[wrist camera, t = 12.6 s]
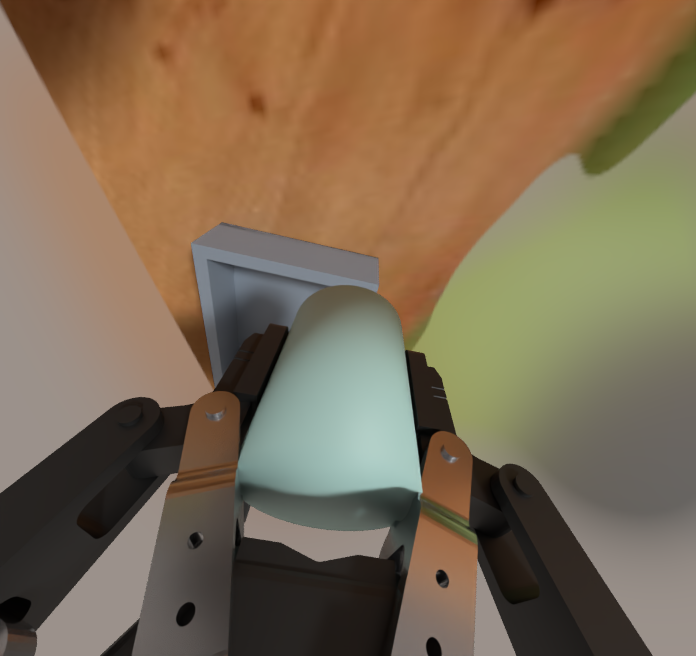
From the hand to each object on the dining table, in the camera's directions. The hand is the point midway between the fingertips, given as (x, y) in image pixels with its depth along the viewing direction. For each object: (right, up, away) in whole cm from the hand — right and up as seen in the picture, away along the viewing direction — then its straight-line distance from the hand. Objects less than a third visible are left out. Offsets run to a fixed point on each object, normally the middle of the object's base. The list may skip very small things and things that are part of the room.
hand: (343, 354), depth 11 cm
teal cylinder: (0, +1, +1) cm, 1 cm away
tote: (-6, +2, +18) cm, 19 cm away
